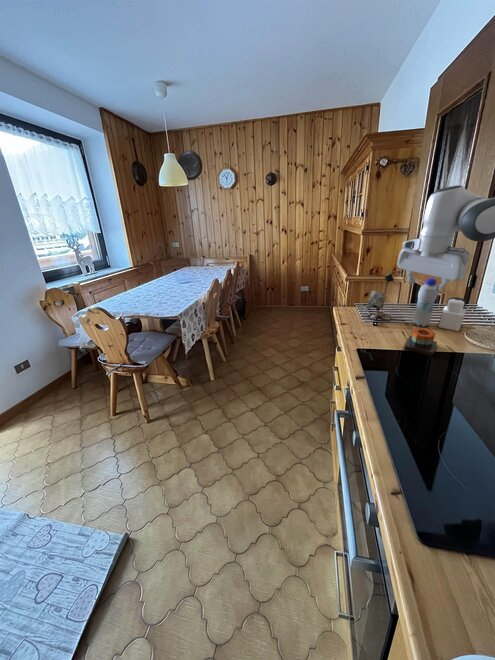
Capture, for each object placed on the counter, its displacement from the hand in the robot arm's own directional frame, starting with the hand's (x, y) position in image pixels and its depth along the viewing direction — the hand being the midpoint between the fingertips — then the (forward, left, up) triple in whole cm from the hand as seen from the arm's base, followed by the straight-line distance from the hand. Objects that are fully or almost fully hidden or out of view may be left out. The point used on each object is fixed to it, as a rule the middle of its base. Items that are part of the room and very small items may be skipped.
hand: (424, 287), depth 94 cm
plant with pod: (+17, -20, -23) cm, 35 cm away
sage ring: (-3, -1, -20) cm, 20 cm away
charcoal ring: (-3, -1, -22) cm, 22 cm away
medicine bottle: (-10, -25, -23) cm, 36 cm away
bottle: (0, -21, -23) cm, 32 cm away
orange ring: (-3, -1, -18) cm, 19 cm away
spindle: (-3, -1, -23) cm, 23 cm away
